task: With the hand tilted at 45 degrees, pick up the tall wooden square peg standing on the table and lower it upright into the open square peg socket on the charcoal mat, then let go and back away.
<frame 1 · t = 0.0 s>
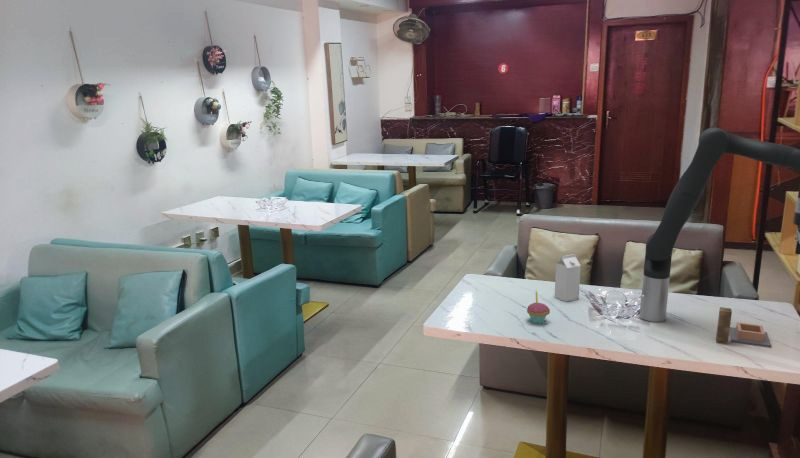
square peg socket: (749, 338, 213), on the table
milk carton: (566, 298, 253), on the table
cupcake: (537, 321, 230), on the table
wooden square peg: (721, 341, 210), on the table
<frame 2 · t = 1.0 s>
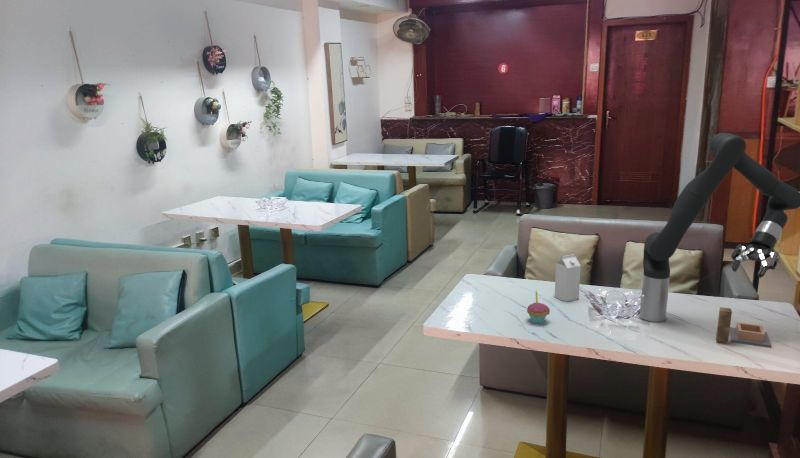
hand: (746, 273, 211), 23 cm above the table, tool tilted 45°, fingers open, 8 cm apart
nothing on the table moved.
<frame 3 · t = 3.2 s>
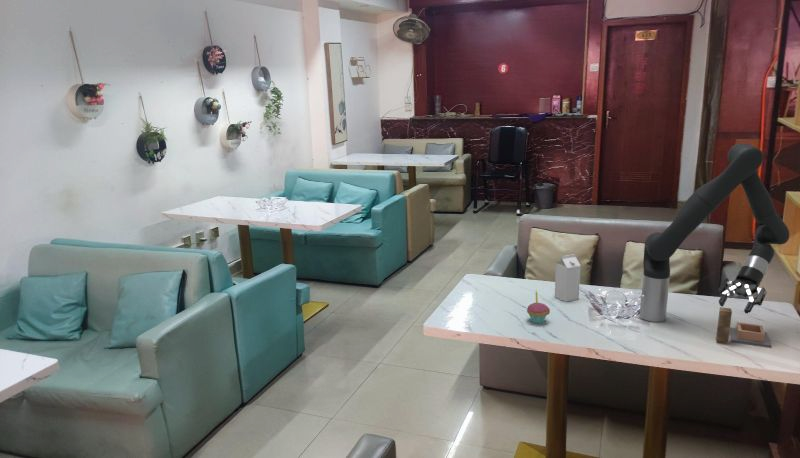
hand: (733, 308, 210), 11 cm above the table, tool tilted 45°, fingers open, 8 cm apart
nothing on the table moved.
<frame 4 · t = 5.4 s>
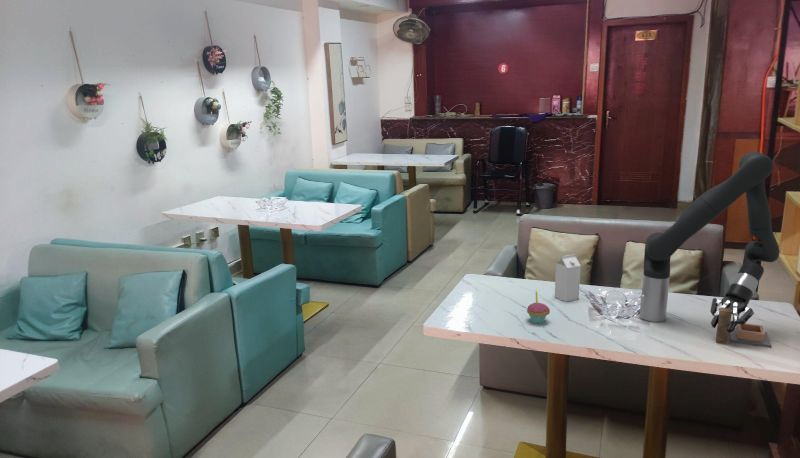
hand: (720, 328, 208), 5 cm above the table, tool tilted 45°, fingers closed on wooden square peg, 4 cm apart
wooden square peg: (721, 341, 210), on the table, touching gripper
everything else where it was.
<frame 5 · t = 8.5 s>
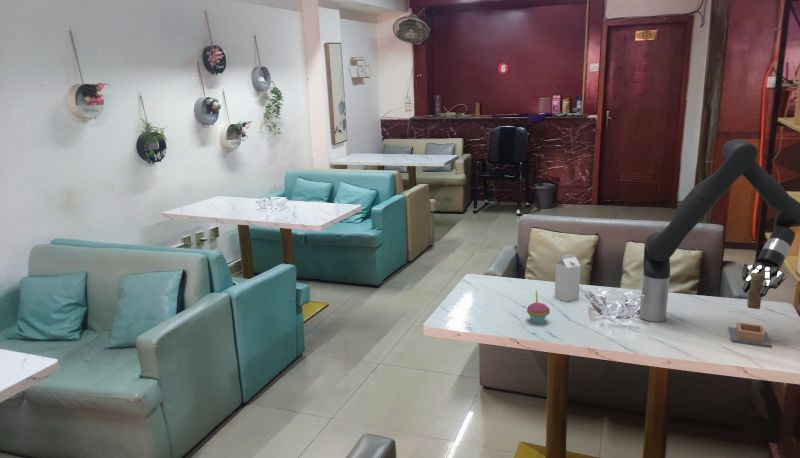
hand: (752, 293, 207), 17 cm above the table, tool tilted 45°, fingers closed on wooden square peg, 4 cm apart
wooden square peg: (753, 306, 210), point 12 cm above the table, touching gripper
everything else where it was.
when the fingers open (7 cm above the table, at t = 11.5 s): wooden square peg stays where it is, resting on square peg socket.
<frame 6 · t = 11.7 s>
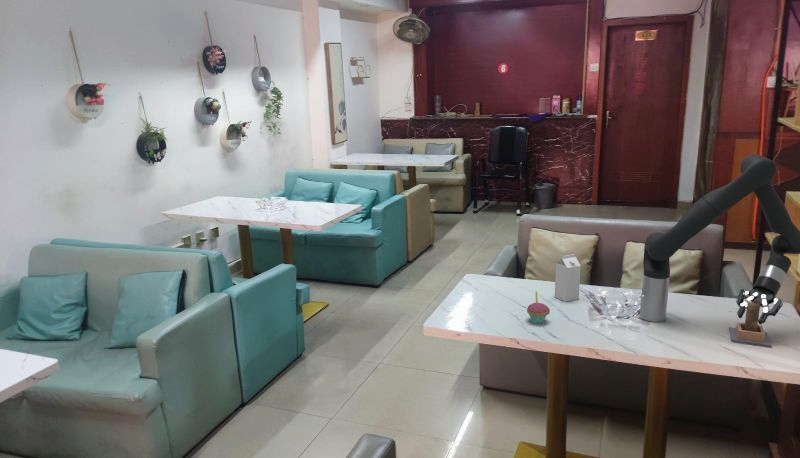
hand: (749, 319, 210), 7 cm above the table, tool tilted 45°, fingers open, 6 cm apart
wooden square peg: (749, 335, 212), point 1 cm above the table, touching square peg socket
everything else where it was.
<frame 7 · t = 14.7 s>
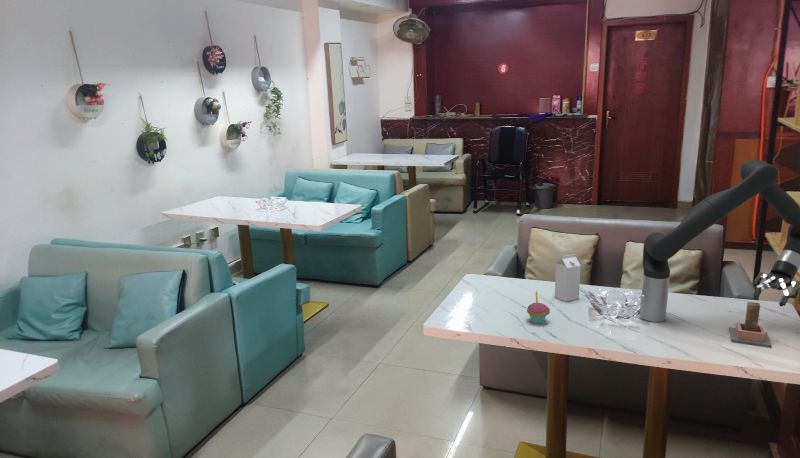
hand: (767, 301, 217), 11 cm above the table, tool tilted 45°, fingers open, 8 cm apart
nothing on the table moved.
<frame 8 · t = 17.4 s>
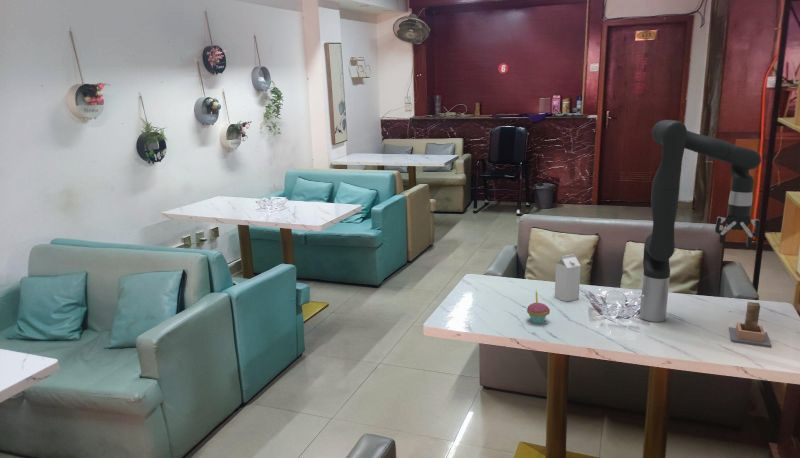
hand: (734, 245, 227), 28 cm above the table, tool pointing down, fingers open, 8 cm apart
nothing on the table moved.
at the end: wooden square peg 0.1 cm off-centre on the square peg socket, point 0.8 cm above the square peg socket's base; wooden square peg tilted 0°; the gripper is holding nothing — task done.
